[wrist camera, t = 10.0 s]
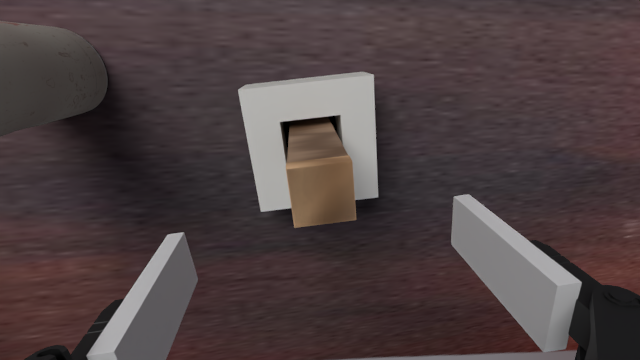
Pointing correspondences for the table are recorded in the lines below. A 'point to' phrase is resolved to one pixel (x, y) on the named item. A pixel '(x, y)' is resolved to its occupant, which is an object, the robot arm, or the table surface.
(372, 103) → the socket block
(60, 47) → the thermos bottle
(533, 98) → the table surface
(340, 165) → the bronze peg
